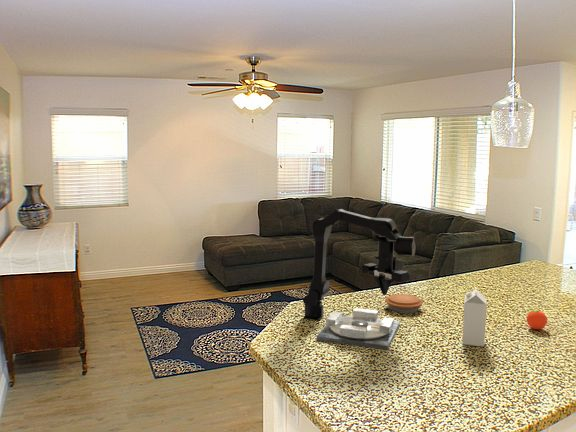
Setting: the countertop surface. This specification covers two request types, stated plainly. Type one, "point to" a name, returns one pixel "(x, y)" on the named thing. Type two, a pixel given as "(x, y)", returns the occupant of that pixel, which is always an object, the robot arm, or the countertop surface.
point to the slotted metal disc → (360, 324)
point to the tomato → (536, 319)
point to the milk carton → (474, 319)
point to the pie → (404, 303)
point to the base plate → (371, 343)
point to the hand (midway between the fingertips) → (384, 294)
